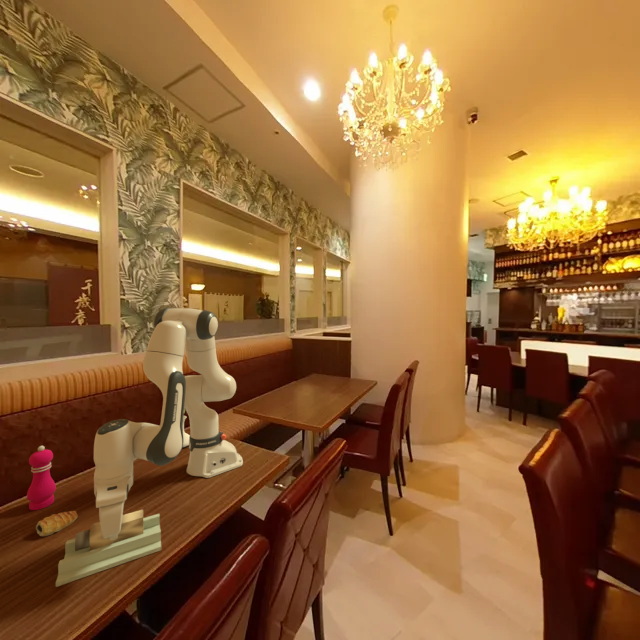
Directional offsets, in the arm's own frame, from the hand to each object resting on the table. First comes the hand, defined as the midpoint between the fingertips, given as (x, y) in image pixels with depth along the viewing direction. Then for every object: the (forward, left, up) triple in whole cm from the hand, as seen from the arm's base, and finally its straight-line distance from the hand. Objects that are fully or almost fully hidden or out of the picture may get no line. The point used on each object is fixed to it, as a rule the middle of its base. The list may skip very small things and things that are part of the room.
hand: (114, 531), depth 82 cm
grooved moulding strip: (0, 0, -5) cm, 5 cm away
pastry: (+16, -20, -5) cm, 26 cm away
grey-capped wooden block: (+1, 0, -2) cm, 2 cm away
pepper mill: (+23, -36, -5) cm, 43 cm away
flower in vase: (-22, -63, -5) cm, 67 cm away
